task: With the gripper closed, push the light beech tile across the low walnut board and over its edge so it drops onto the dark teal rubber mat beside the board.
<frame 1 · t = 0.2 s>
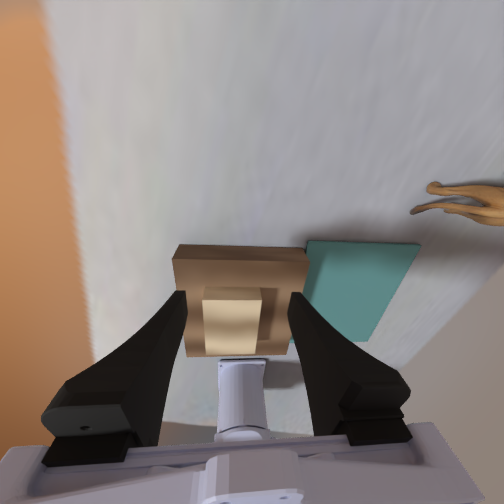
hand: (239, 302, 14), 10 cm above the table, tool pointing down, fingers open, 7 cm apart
walnut board: (239, 298, 27), on the table
beech tile: (231, 316, 24), point 3 cm above the table, touching walnut board
teal mat: (342, 299, 28), on the table
lion figurine: (480, 182, 21), on the table
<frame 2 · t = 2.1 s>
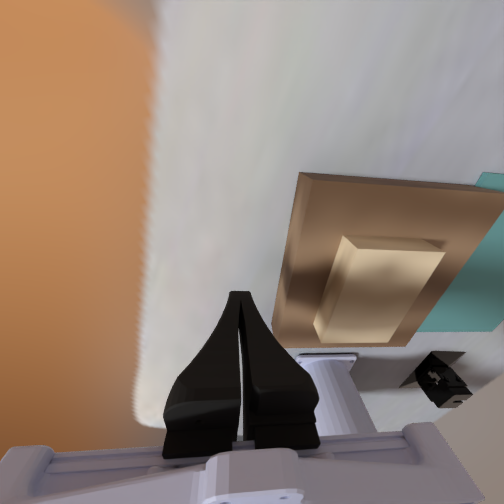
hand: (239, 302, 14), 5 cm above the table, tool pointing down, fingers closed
walnut board: (353, 266, 19), on the table
beech tile: (360, 286, 16), point 3 cm above the table, touching walnut board
teal mat: (486, 270, 21), on the table
black slotted bracket: (426, 366, 31), on the table
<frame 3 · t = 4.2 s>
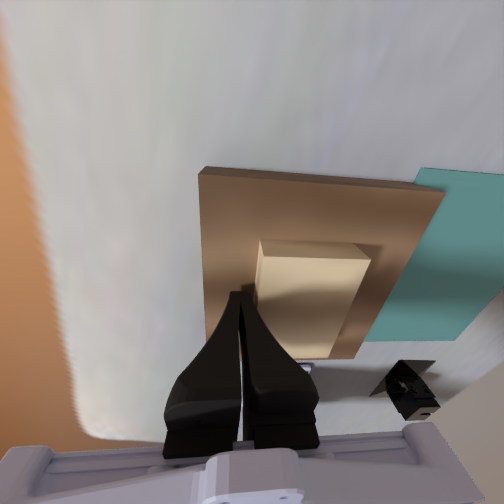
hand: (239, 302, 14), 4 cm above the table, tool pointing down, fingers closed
walnut board: (290, 272, 17), on the table
beech tile: (294, 295, 15), point 3 cm above the table, touching gripper, walnut board
teal mat: (440, 276, 19), on the table
black slotted bracket: (396, 375, 29), on the table
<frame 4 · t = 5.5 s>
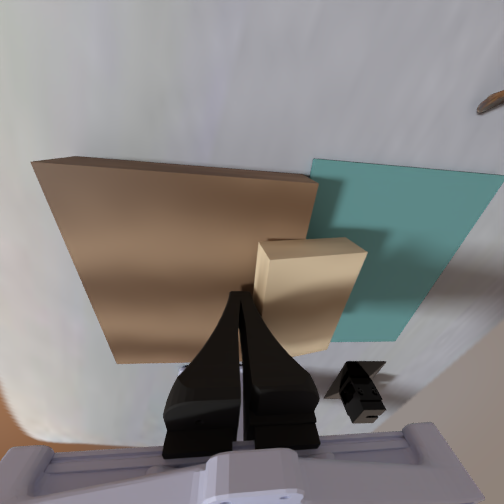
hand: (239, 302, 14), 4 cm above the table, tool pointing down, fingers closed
walnut board: (200, 269, 17), on the table
beech tile: (292, 294, 15), point 3 cm above the table, tilted 11°, touching walnut board
teal mat: (364, 274, 18), on the table
black slotted bracket: (349, 376, 28), on the table
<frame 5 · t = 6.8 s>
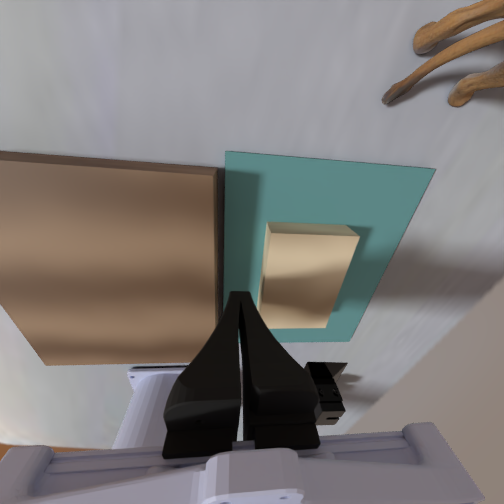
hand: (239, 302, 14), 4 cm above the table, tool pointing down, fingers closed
walnut board: (129, 268, 16), on the table
beech tile: (302, 288, 15), point 2 cm above the table, tilted 180°, touching teal mat
teal mat: (304, 272, 17), on the table
black slotted bracket: (315, 376, 28), on the table
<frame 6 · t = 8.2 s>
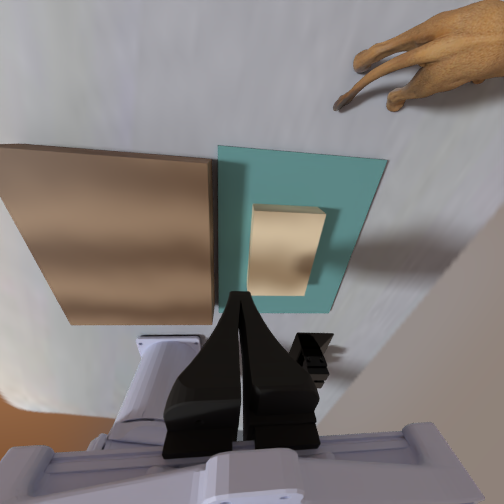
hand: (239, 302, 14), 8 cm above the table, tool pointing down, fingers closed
walnut board: (140, 243, 19), on the table
beech tile: (282, 259, 19), point 2 cm above the table, tilted 180°, touching teal mat
teal mat: (286, 248, 21), on the table
lion figurine: (437, 55, 14), on the table
black slotted bracket: (304, 349, 31), on the table
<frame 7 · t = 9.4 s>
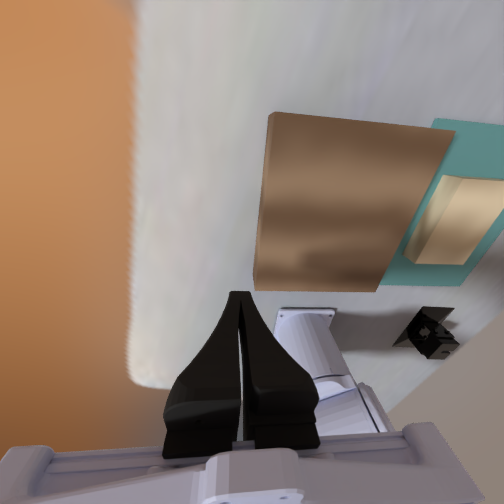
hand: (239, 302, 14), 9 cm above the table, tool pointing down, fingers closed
walnut board: (325, 213, 21), on the table
beech tile: (463, 226, 20), point 2 cm above the table, tilted 180°, touching teal mat
teal mat: (448, 220, 22), on the table
black slotted bracket: (417, 325, 33), on the table
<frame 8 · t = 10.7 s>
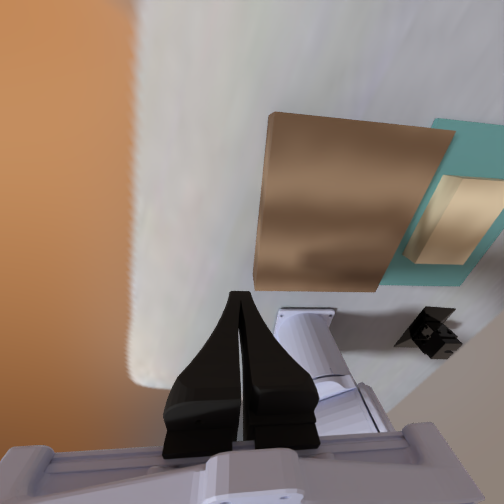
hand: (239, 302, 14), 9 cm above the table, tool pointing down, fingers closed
walnut board: (325, 213, 21), on the table
beech tile: (463, 226, 20), point 2 cm above the table, tilted 180°, touching teal mat
teal mat: (448, 220, 22), on the table
black slotted bracket: (420, 324, 33), on the table
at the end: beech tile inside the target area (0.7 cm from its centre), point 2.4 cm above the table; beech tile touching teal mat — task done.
